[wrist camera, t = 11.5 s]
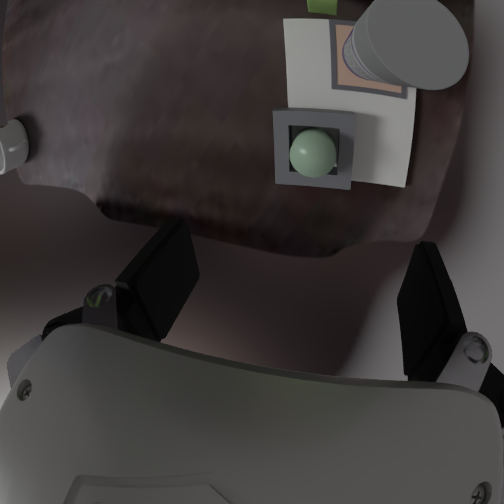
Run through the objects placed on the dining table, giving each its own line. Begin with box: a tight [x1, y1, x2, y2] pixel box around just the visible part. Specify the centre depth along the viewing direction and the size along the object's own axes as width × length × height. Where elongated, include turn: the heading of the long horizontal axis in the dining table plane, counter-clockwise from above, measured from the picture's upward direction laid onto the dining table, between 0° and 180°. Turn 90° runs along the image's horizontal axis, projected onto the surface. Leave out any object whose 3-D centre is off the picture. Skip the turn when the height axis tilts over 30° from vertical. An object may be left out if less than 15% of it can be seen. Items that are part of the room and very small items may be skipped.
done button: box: [290, 127, 336, 178], centre depth 22 cm, size 4×4×3 cm
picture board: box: [273, 19, 416, 190], centre depth 20 cm, size 16×13×3 cm
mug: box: [0, 119, 29, 174], centre depth 31 cm, size 12×10×6 cm
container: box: [342, 0, 469, 90], centre depth 12 cm, size 5×5×15 cm
